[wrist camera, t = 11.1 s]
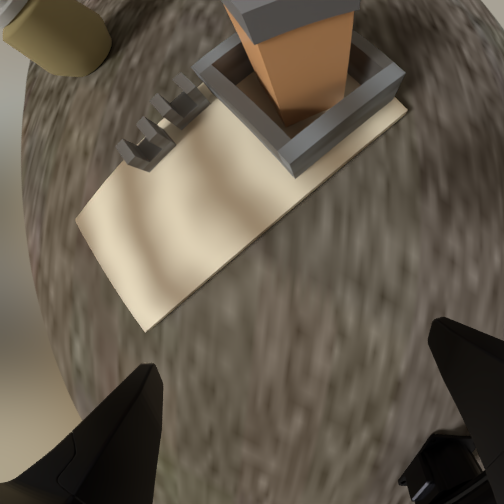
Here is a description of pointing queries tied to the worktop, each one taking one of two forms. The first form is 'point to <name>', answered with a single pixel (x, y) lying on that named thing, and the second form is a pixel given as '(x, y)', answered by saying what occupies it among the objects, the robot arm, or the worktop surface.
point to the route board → (223, 173)
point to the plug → (297, 50)
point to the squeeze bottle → (56, 34)
